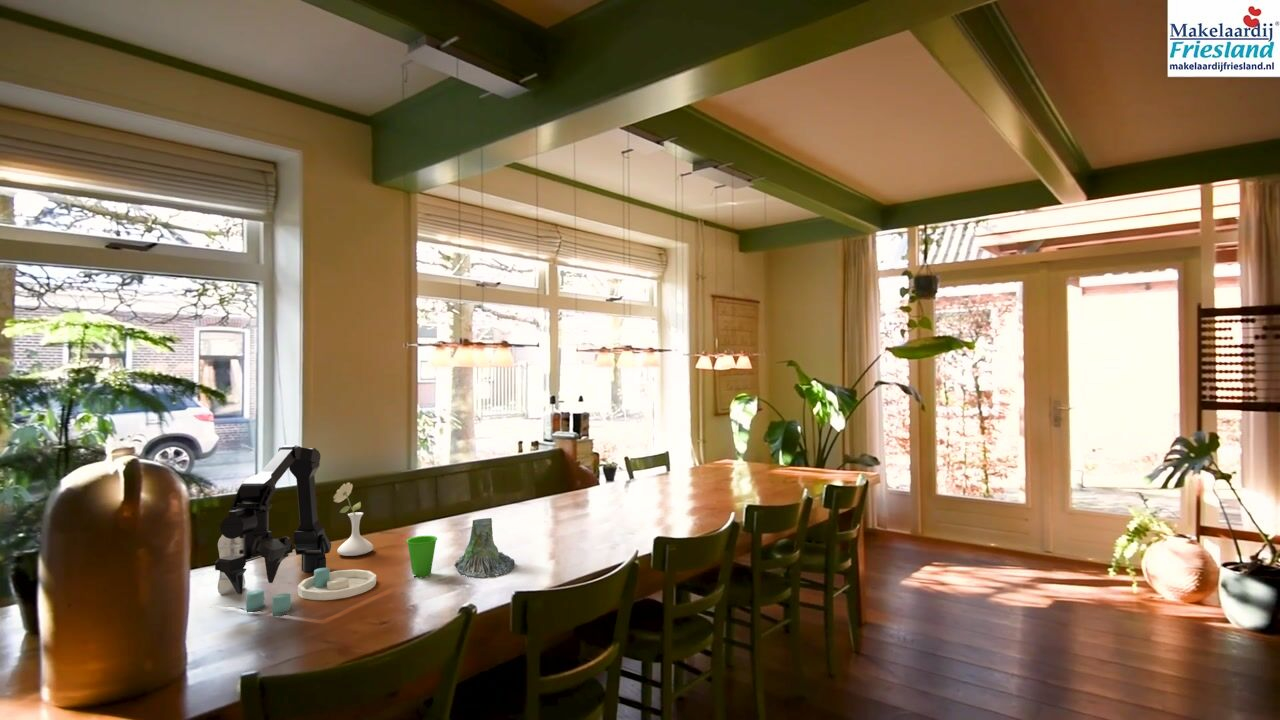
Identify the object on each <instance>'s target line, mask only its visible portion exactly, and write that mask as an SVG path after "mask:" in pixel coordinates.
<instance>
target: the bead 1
mask: <svg viewBox="0 0 1280 720" xmlns="http://www.w3.org/2000/svg"><path fill="white" fill-rule="evenodd" d="M245 596H246V600H245V601H246V605H245V606H246V607H245V611H247V612H246V613H248V612H253V613H257V612H261V611H262V610H259V609H260V608H261V607H264V605H265V590H263V589H254V590H252V591H248V592H246V595H245Z"/></svg>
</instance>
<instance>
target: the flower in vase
mask: <svg viewBox="0 0 1280 720" xmlns="http://www.w3.org/2000/svg"><path fill="white" fill-rule="evenodd" d="M353 487H354V486H353V483H351V482H346V483H343V484H342V485H341V486H340V487H339V489H337V490H336V493H335V494H334V495H333V497H332V498H333V502H335V503H337V504H338V503H341V502H343V501H345V500H346V499H347V502H348V505H345V506H344V507H342V509H340V511H339V513H340V514H342V513H343V514H345V513H347V512H348V511H349V510H350V509H351V511H352V512H350V513H347V516H348V517H349V518H350V519H349V520H350V522H351V535H350V536H349V538H348V539H346V541H344V542H343V543H342V544H341V545H340V546H339V547H338V548H337V554H339V555H341V556H345V557H354V556H355V557H357V556H361V555H365V554H367V553H370V552H371V551H372V550H373V549H374V545H373V543H371V542H370V541H369V540H367V539H366V538H365V537H363V536H362V535H361V534H360V523H361V519H362V517H363V516H364V512H357V511H358V510H360V509H361V507H362V502H361V501H359V502H357V503H355V504H354V505H353V506H352V505H351V501H350V499H349V496H350V494H351V493H352V490H353ZM355 511H356V512H355Z"/></svg>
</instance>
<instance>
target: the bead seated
mask: <svg viewBox="0 0 1280 720" xmlns="http://www.w3.org/2000/svg"><path fill="white" fill-rule="evenodd" d="M330 572H331V570H330V568H329V567H326V568H319V569H316V570H314V572H313V576H314V587H315V588H322V587H326V586H327V581H328V580H330Z"/></svg>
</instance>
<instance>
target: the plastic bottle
mask: <svg viewBox="0 0 1280 720" xmlns="http://www.w3.org/2000/svg"><path fill="white" fill-rule="evenodd" d="M217 549H218V554H219V558H222V557H225V556H229V555H235V556H243V554H239V550H241V549H243V538H239V537H237V538H234V539H229V538H226V537H225V536H224V535H223V534H221V536H220V537H219V539H218V542H217ZM244 574H245V573H244ZM244 574H243V590H244V589H245V587H246V579H245V575H244ZM217 590H218V591H217V592H218V593H219V595H221V596H224V595H232V594H237V592H236V590H235V589H234V587H233V585H232V583H231V582H230V580H229V579H228V577H227V576H226V575H225V573H224V572H220V571H219V577H218V582H217Z"/></svg>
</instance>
